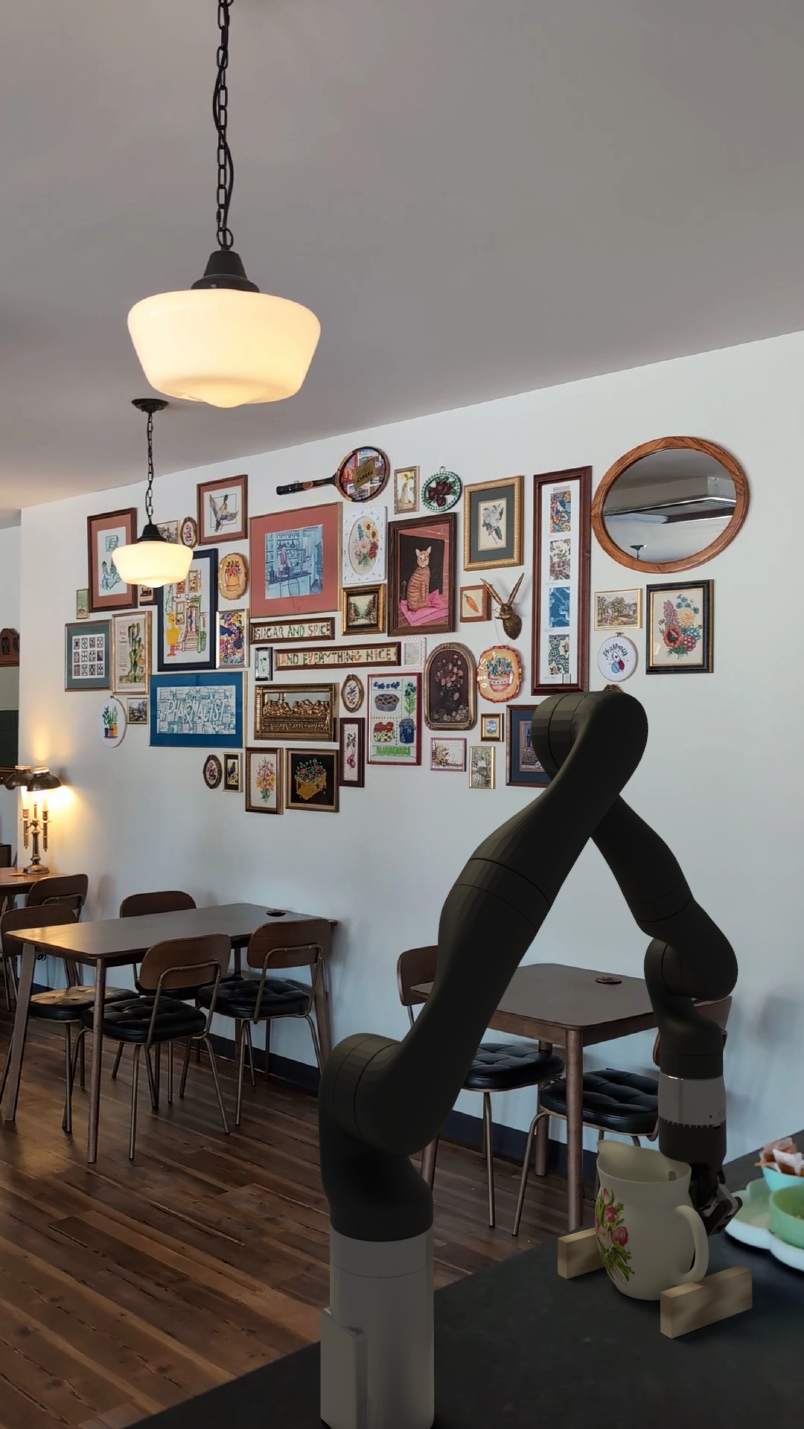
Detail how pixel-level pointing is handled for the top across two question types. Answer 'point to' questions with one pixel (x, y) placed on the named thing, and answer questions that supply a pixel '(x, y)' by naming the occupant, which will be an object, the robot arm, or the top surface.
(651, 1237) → the pitcher
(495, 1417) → the top surface
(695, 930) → the robot arm
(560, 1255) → the oak rails
